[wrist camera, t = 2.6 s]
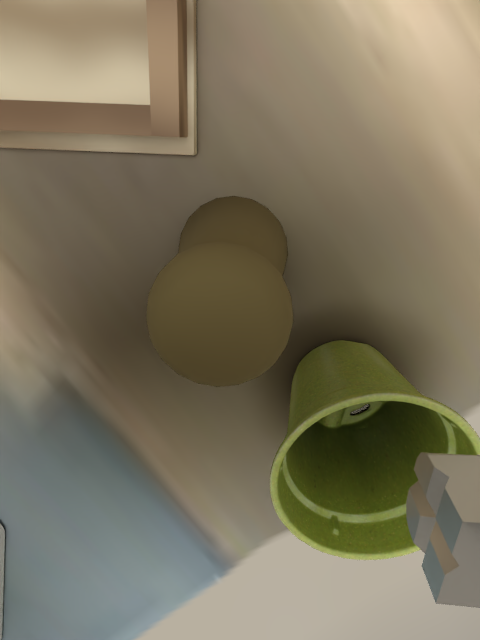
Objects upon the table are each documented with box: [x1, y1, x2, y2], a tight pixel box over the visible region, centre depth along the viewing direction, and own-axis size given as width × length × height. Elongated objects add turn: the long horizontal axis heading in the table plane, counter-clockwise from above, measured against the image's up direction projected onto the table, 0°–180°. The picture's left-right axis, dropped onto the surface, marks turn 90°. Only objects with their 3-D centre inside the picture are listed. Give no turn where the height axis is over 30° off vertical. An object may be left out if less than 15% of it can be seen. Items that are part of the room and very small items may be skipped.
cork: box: [146, 196, 293, 387], centre depth 19 cm, size 6×6×11 cm
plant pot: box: [270, 340, 480, 560], centre depth 23 cm, size 9×9×9 cm
